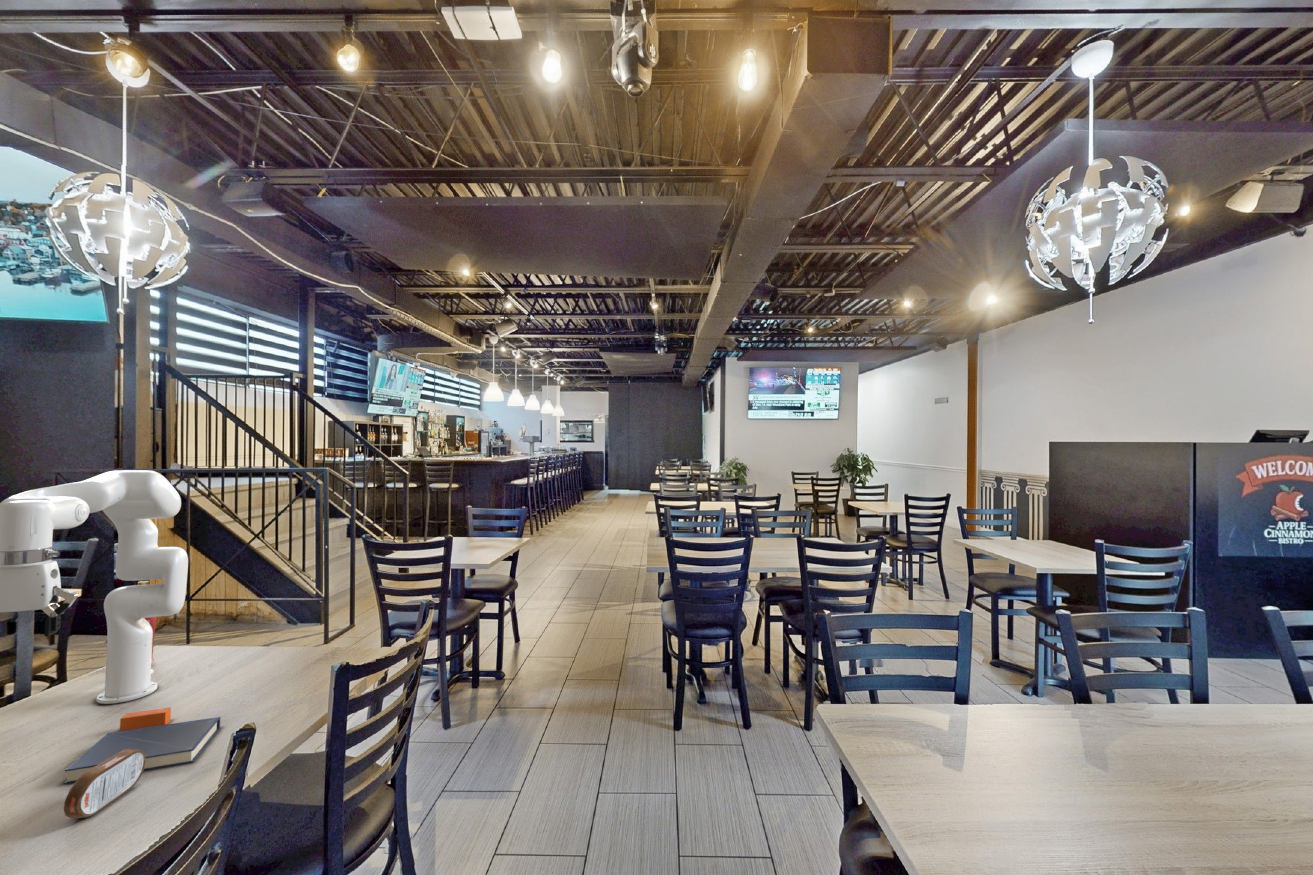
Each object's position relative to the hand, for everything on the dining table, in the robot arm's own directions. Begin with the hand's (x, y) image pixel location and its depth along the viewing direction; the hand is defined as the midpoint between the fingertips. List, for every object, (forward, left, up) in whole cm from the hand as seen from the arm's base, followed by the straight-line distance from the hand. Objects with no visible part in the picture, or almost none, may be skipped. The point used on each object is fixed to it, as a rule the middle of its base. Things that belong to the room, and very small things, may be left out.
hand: (20, 636), depth 113 cm
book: (-4, +21, -31) cm, 38 cm away
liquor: (-69, -7, -31) cm, 76 cm away
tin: (+15, +22, -31) cm, 41 cm away
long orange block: (-20, +14, -31) cm, 40 cm away
